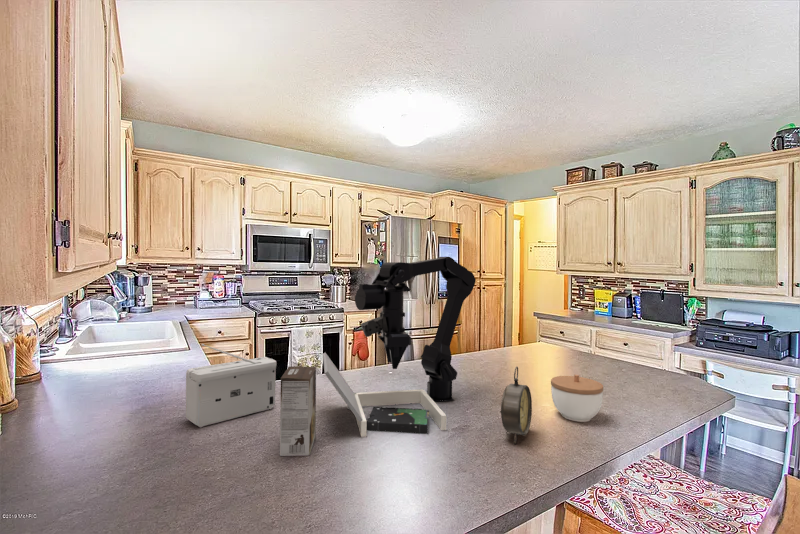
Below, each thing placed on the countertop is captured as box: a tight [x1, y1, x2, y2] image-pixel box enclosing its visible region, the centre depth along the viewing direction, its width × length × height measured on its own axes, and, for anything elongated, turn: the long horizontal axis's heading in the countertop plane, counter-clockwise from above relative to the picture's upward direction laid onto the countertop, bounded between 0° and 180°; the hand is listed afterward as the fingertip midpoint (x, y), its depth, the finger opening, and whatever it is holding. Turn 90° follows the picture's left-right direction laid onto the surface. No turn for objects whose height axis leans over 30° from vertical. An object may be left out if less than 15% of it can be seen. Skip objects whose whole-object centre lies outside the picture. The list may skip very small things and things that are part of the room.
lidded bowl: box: [550, 374, 604, 423], centre depth 103 cm, size 13×13×11 cm
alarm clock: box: [500, 365, 533, 445], centre depth 91 cm, size 11×5×16 cm, turn 148°
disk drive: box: [366, 406, 430, 435], centre depth 97 cm, size 10×3×15 cm
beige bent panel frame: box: [322, 352, 447, 438], centre depth 100 cm, size 29×20×15 cm
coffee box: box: [279, 365, 317, 457], centre depth 84 cm, size 9×6×16 cm
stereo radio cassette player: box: [185, 343, 278, 428], centre depth 101 cm, size 21×8×20 cm, turn 134°
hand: (392, 365), depth 106 cm, fingers open, 7 cm apart
